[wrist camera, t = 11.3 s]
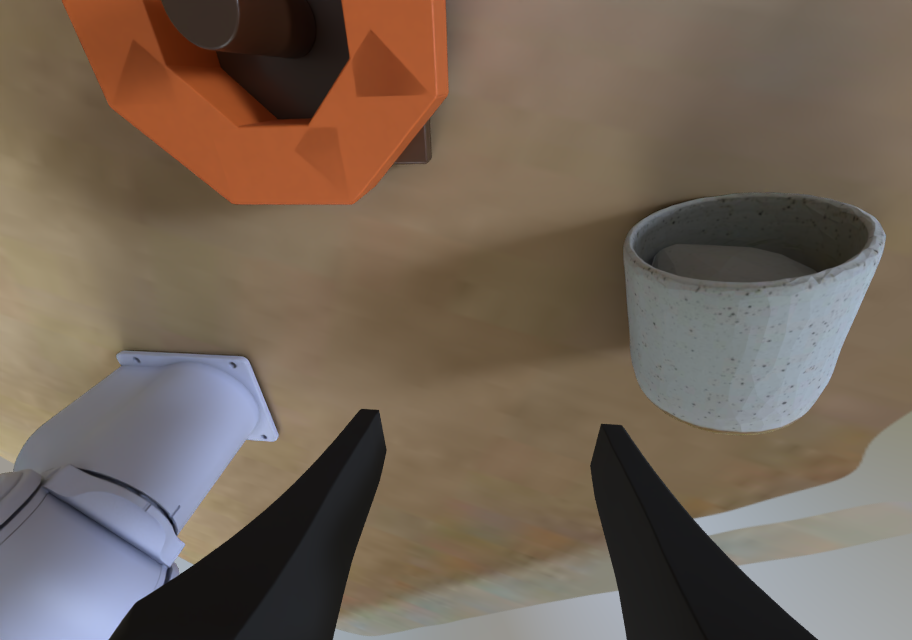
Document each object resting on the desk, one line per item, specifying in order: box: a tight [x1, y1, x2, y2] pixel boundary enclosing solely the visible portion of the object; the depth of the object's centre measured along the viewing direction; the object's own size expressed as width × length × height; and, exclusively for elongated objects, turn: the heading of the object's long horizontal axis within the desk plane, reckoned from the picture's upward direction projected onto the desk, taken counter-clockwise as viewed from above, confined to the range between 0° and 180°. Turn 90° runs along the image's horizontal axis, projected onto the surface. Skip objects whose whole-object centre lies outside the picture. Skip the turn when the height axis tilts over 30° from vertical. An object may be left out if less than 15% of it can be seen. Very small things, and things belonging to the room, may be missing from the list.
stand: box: [161, 0, 432, 164], centre depth 13 cm, size 10×10×6 cm
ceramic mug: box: [623, 192, 886, 435], centre depth 15 cm, size 11×8×8 cm
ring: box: [62, 0, 448, 204], centre depth 13 cm, size 12×12×3 cm
